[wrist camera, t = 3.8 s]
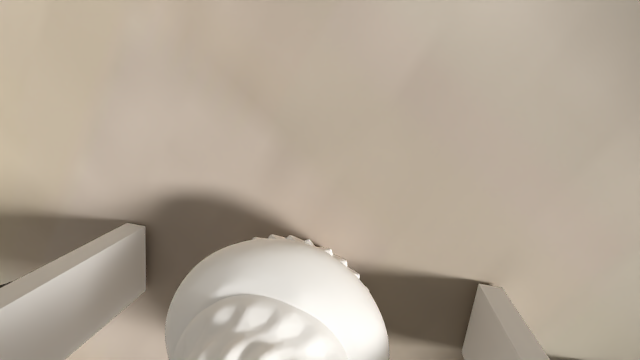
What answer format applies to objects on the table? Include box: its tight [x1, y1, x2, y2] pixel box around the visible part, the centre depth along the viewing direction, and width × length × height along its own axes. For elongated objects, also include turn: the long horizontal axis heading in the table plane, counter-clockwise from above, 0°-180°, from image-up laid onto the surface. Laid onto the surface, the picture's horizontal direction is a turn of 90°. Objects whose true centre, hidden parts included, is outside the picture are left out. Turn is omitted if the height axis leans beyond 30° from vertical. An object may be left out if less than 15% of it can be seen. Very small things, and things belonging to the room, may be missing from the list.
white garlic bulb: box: [165, 234, 390, 360], centre depth 10 cm, size 6×6×7 cm
